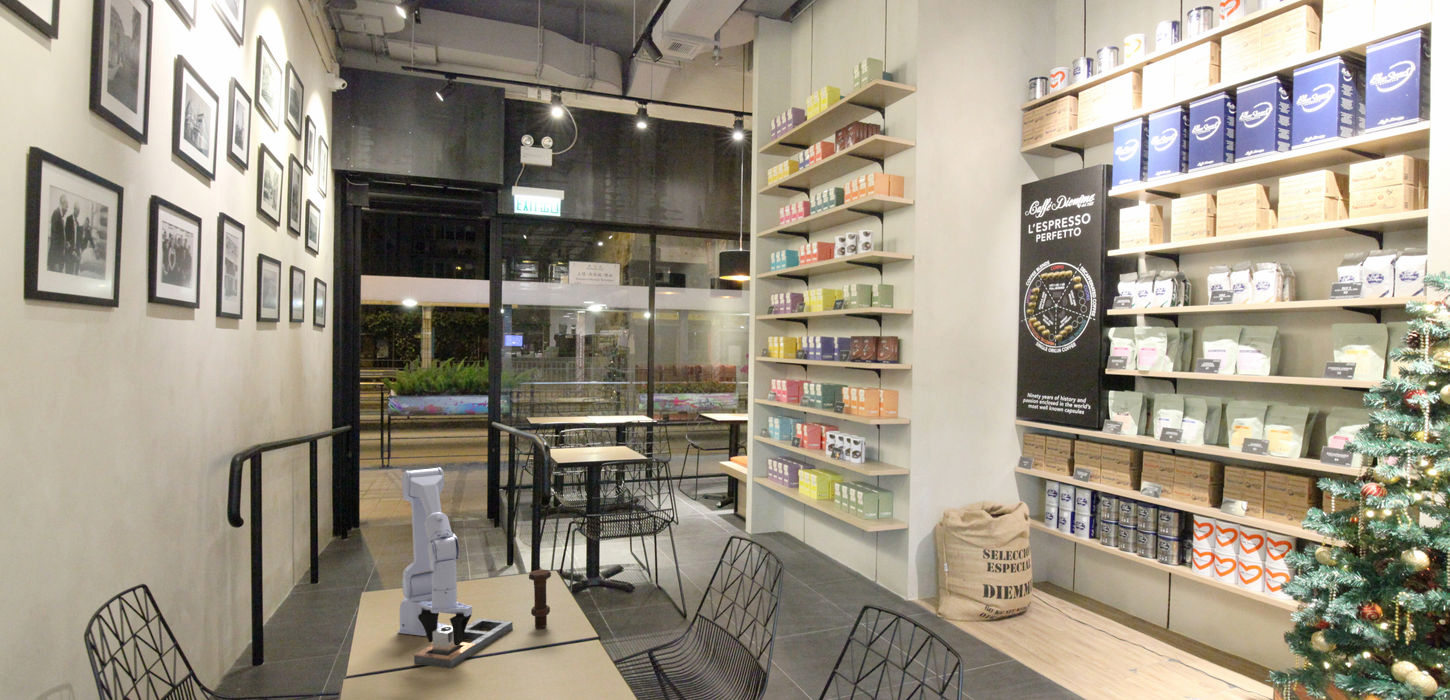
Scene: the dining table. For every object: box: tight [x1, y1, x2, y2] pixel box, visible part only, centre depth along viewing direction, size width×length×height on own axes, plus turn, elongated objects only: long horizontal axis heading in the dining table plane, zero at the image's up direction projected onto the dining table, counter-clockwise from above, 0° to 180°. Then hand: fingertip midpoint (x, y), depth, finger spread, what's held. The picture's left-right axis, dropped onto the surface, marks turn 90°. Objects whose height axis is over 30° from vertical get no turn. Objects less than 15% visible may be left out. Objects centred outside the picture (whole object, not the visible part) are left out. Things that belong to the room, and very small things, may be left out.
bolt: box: [528, 569, 552, 629], centre depth 199 cm, size 6×5×15 cm
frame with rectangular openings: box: [413, 617, 514, 669], centre depth 187 cm, size 10×26×2 cm, turn 163°
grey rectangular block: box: [432, 624, 460, 656], centre depth 180 cm, size 4×4×7 cm
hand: (445, 642), depth 180 cm, fingers open, 7 cm apart
